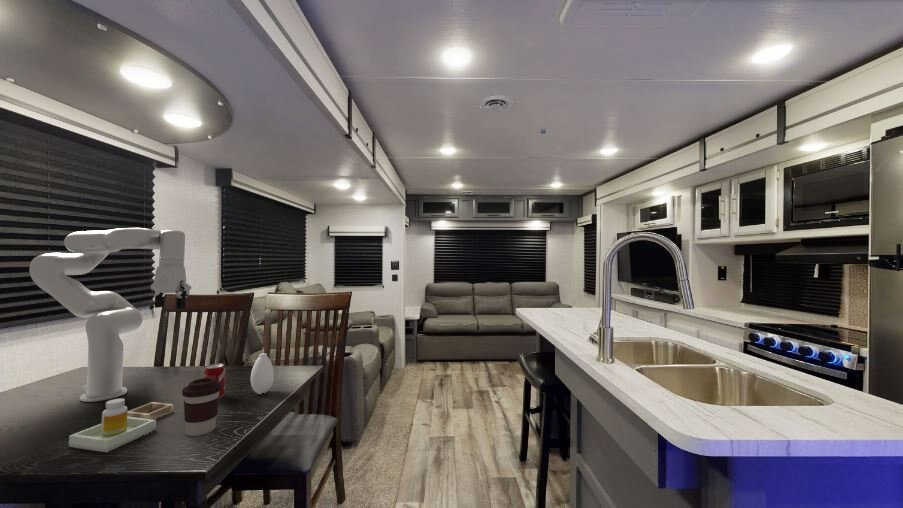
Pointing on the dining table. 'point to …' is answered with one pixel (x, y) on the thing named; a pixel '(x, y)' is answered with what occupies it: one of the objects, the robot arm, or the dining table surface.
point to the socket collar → (156, 407)
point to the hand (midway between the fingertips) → (169, 307)
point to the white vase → (262, 374)
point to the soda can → (216, 375)
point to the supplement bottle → (114, 418)
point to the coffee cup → (201, 405)
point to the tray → (94, 441)
